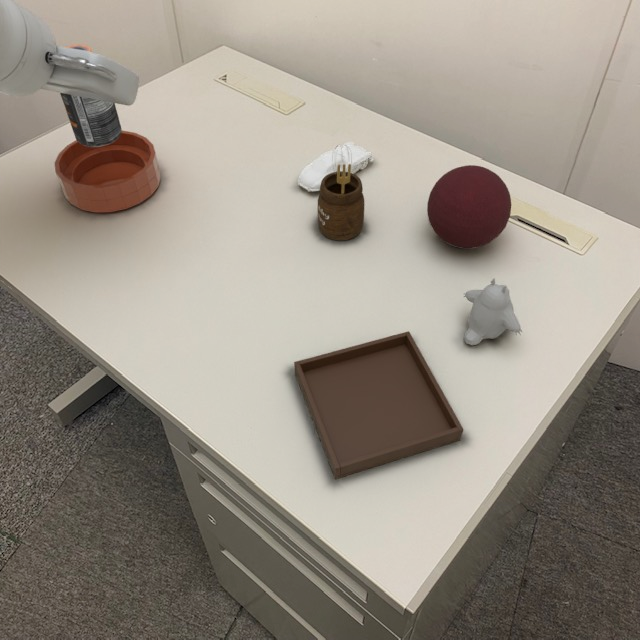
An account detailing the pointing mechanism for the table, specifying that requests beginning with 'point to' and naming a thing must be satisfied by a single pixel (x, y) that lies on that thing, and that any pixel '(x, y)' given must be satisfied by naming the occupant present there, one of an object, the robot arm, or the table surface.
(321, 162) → the toy car
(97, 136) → the pill bottle
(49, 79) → the robot arm
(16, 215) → the table surface
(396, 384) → the tray
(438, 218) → the decorative ball
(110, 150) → the bowl
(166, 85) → the table surface
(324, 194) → the utensil holder
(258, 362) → the table surface
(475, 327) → the figurine
